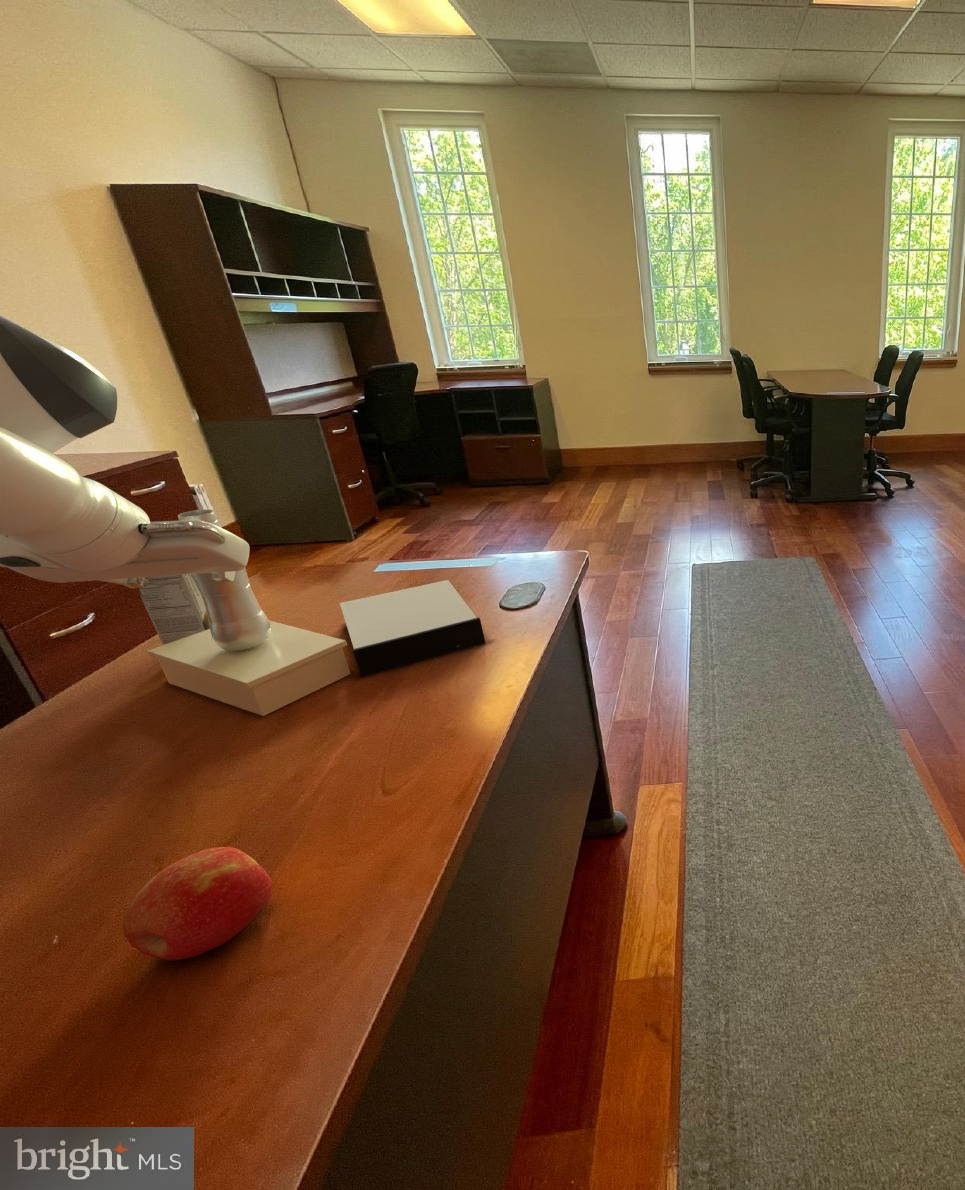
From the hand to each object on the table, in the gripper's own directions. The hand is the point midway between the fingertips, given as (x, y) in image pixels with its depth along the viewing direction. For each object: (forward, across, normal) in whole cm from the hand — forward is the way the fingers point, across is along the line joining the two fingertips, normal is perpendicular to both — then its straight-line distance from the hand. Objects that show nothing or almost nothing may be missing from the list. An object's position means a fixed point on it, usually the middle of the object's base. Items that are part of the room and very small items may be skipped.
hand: (185, 579), depth 78 cm
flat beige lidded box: (+18, 0, +9) cm, 20 cm away
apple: (-16, -19, +43) cm, 49 cm away
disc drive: (+26, -17, +1) cm, 31 cm away
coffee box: (+27, +14, 0) cm, 31 cm away
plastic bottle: (+14, 0, +5) cm, 15 cm away
